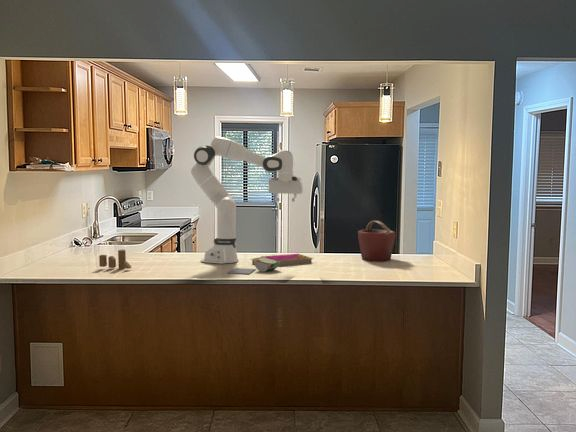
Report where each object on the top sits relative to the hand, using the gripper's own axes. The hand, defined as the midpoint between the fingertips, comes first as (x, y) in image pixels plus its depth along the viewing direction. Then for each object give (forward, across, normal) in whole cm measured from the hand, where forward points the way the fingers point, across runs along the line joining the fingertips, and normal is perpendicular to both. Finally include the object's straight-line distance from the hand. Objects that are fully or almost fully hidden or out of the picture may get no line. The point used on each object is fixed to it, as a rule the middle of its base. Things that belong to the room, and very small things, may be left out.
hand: (285, 201), depth 327 cm
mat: (+37, -17, -34) cm, 53 cm away
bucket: (+37, +52, +22) cm, 68 cm away
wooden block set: (+37, -86, -43) cm, 103 cm away
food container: (+35, -7, -32) cm, 48 cm away
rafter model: (+38, -1, -3) cm, 38 cm away
